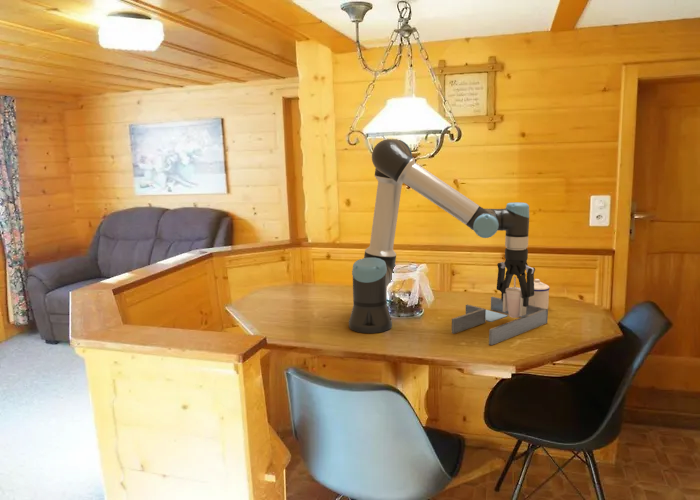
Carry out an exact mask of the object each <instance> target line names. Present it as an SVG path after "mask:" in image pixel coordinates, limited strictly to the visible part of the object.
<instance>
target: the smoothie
mask: <svg viewBox="0 0 700 500" xmlns="http://www.w3.org/2000/svg"><path fill="white" fill-rule="evenodd" d="M516 280H517V276H513V287H511V286H509V288H506V291H505V292H506V293H507V304H508V314H507V315H508V317H509V318H512V319H513V318H514V319H519V318H521V317H520V297H522V292H521V288H520V287H516V283H517V282H516Z"/></svg>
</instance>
